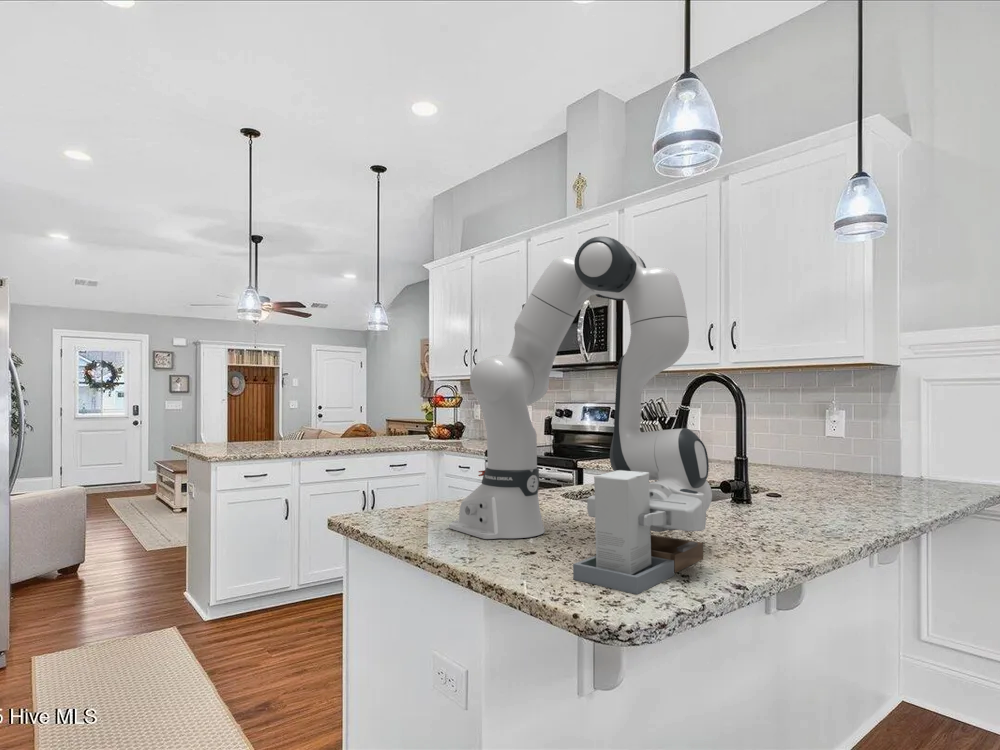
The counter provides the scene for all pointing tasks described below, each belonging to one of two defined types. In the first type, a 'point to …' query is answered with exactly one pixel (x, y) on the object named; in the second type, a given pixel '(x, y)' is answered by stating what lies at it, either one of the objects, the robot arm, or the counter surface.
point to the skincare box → (622, 521)
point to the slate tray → (624, 575)
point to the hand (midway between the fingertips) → (620, 517)
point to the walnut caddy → (677, 551)
